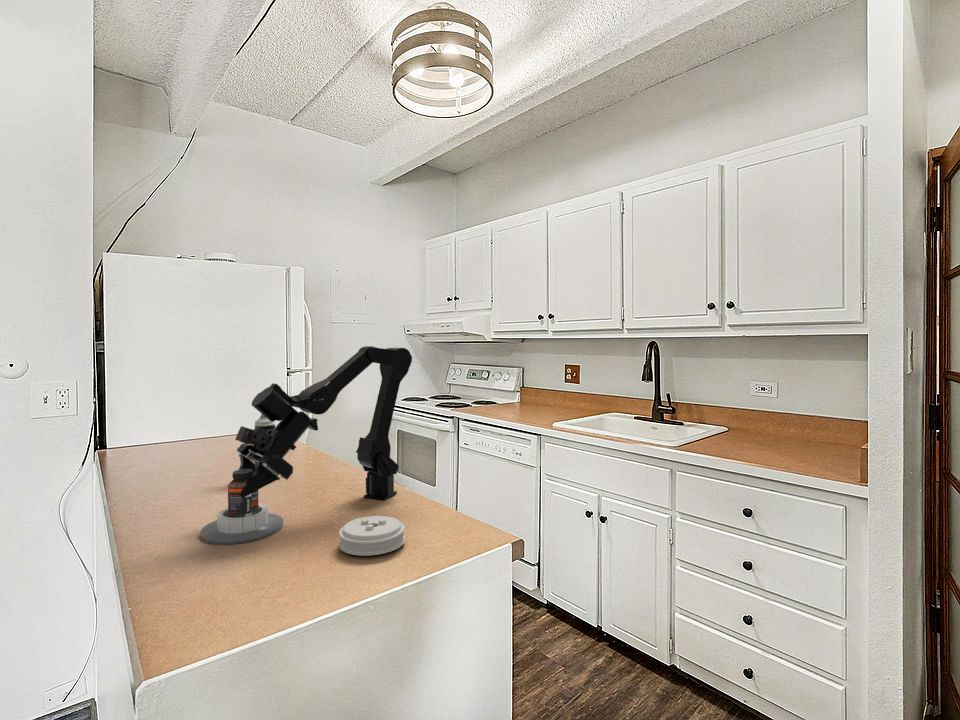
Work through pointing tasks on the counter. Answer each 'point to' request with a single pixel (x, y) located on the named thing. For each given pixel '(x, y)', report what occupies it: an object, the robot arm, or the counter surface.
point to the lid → (371, 535)
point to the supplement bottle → (236, 502)
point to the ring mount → (241, 527)
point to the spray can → (264, 423)
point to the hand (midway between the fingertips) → (236, 492)
